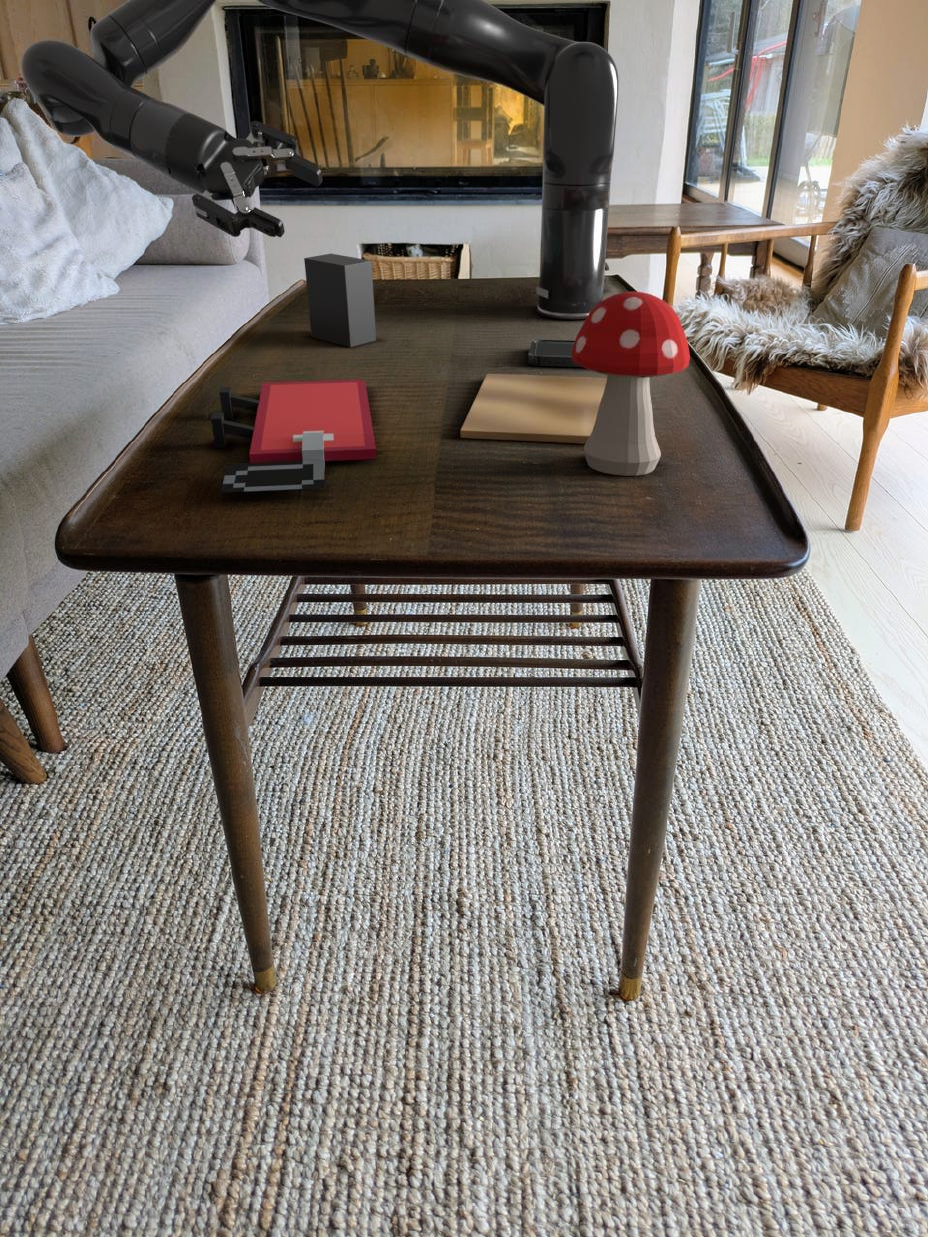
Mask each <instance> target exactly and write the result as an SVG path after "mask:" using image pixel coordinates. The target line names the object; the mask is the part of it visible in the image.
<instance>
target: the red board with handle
mask: <svg viewBox="0 0 928 1237" xmlns="http://www.w3.org/2000/svg"><path fill="white" fill-rule="evenodd" d="M219 398H220V405H221V406H220V407H221V411H218V412H216V411H215V412H212V415H211V417H210V421H211V427H212V429H211V430H212V436H213V442H214V443H213V444H214V448H226V446H227V442H228V439H227V435H229V436H235V437H240V438H244V439H249V440H251V442H250V449H249V462H240V463H238V462H236V463H227V464H226V469H225V473H224V476H223V482H222V486H221V488H220V489H221V490H220V493H221V494H222V493H243V492H261V491H262V492H263V491H264V492H265V491H282V490H283V491H285V490H287V491H288V490H307V489H325V470H326V462H332V461H358V460H376V459H377V447H376V442H375V434H374V430H373V429H374V428H373V423H372V416H371V410H370V403H369V397H368V390H367V383H366V379H342V380H341V379H339V380H337V379H336V380H311V381H310V380H308V381H279V382H278V381H277V382H275V381H273V382H262V385H261V390H260V395H259V399H254V398H250V397H246V396H242V395H237V394H232V389H231V386H221V387H220V389H219ZM234 408H237V409H242V410H247V411H252V412H256V416H255V421H254V425H248V424H243V423H238V422H234V421H230V420H233V418H234V414H235V412H234Z"/></svg>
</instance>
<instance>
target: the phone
mask: <svg viewBox="0 0 928 1237" xmlns="http://www.w3.org/2000/svg"><path fill="white" fill-rule="evenodd" d="M574 343H575V340H571V339H569V340H567V339H535V340H532V341H531V344H530V346H529V351H528V353H527V363H528V364H529V365H531V366H543V367H573V368H583V367H582V366H579V365H577V364H576V363H575V362H574V361H573V360H572V350H573V346H574Z"/></svg>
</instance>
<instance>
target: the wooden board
mask: <svg viewBox="0 0 928 1237" xmlns="http://www.w3.org/2000/svg"><path fill="white" fill-rule="evenodd" d="M606 381H607V377H592V376H591V377H590V376H561V375H538V374H537V375H535V374H506V373H486V375H485V377H484V380H482V384H481V386H480V387H479V389H478V392H477V394H476V396H475V399H474V400H473V402H472V405H471V407H470V409H469V412H468V414H467V415H466V418H465V419H464V422H463V424H462V426H461V428H460V429H459V430H460V431H459V432H460V438H461V439H478V440H498V441H500V440H501V441H519V442H521V441H522V442H541V443H544V442H545V443H561V444H562V443H563V444H584V445H585V444H586V442H587V440H588V438H589V437H590V435H591V433H592V430H593V427H594V424H595V421H596V417H597V413H598V409H599V405H600V402H601V399H602V396H603V393H604V390H605V385H606Z"/></svg>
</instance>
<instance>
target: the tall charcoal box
mask: <svg viewBox="0 0 928 1237" xmlns="http://www.w3.org/2000/svg"><path fill="white" fill-rule="evenodd" d="M303 261H304V262H303V263H304V272H305V283H306V292H307V293H306V294H307V302H308V303H307V305H308V314H309V323H310V334H311V338H314V339H318V340H322V341H326V342H329V343H333V344H337V345H340V346H344V347H347V348H353V347H357V346H360V345H361V346H362V345H365V344H368V343H373V342H376V341H377V332H376V330H377V328H376V314H375V313H376V312H375V298H374V296H375V295H374V280H373V261H372V260H370V259H365V258H359V257H353V256H347V255H342V254H336V253H326V254H321V255H320V254H319V255H314V256H308V257H304V258H303Z"/></svg>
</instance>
